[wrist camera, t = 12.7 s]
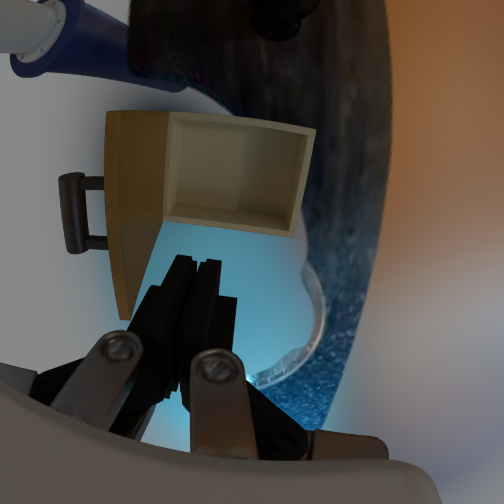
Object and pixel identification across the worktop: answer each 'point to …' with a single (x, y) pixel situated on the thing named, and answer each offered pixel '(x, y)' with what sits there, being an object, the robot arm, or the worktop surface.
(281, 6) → the beer glass
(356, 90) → the worktop surface
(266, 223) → the open cream tray
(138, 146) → the cover
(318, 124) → the worktop surface
